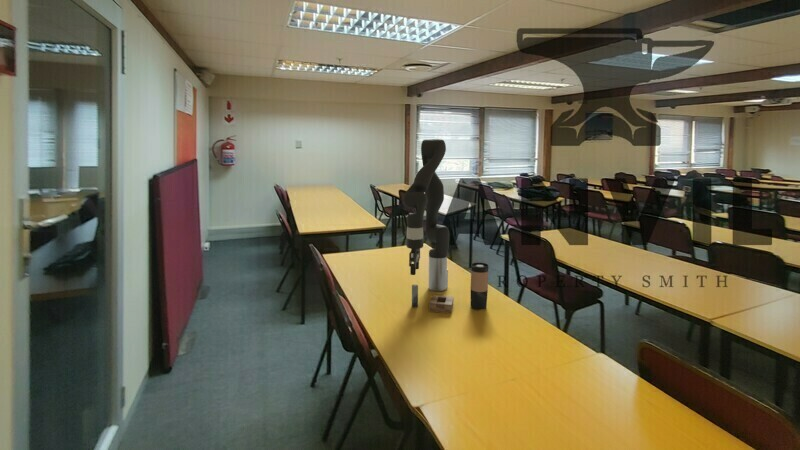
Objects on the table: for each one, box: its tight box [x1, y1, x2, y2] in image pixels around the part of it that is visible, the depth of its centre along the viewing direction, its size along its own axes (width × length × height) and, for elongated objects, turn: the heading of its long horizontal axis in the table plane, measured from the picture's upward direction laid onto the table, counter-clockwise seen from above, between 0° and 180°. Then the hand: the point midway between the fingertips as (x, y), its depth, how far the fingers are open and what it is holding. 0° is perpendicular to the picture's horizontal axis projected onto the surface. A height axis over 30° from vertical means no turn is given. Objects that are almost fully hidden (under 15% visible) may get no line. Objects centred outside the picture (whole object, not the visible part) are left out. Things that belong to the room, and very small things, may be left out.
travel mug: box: [470, 262, 489, 311], centre depth 186 cm, size 8×8×20 cm
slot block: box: [428, 294, 455, 314], centre depth 186 cm, size 10×10×4 cm
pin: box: [411, 284, 419, 308], centre depth 188 cm, size 3×3×10 cm
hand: (414, 271), depth 186 cm, fingers open, 8 cm apart
